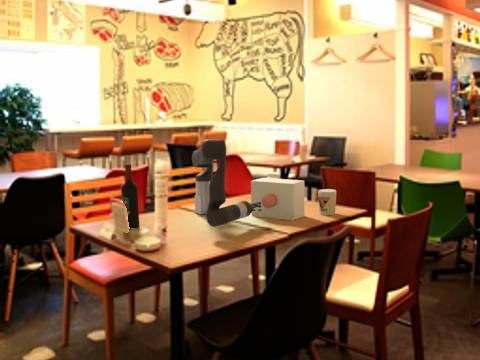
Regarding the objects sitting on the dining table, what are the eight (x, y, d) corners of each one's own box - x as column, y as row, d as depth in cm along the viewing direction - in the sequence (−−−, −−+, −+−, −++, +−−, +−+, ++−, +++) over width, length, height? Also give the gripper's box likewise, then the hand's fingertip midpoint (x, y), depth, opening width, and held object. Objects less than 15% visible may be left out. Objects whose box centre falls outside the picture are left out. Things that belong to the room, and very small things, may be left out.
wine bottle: (138, 229, 260) (135, 165, 255) (122, 229, 259) (118, 165, 255) (140, 225, 267) (137, 163, 263) (124, 226, 266) (120, 164, 262)
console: (293, 220, 270) (292, 183, 267) (251, 215, 283) (250, 180, 280) (304, 215, 280) (304, 180, 277) (263, 211, 293) (263, 177, 290)
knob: (273, 208, 270) (272, 195, 269) (261, 207, 274) (261, 194, 273) (282, 205, 278) (282, 192, 277) (271, 204, 282) (271, 191, 281)
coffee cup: (314, 213, 285) (314, 190, 283) (327, 211, 290) (327, 188, 288) (327, 216, 277) (327, 192, 276) (340, 213, 283) (340, 190, 281)
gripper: (252, 203, 247) (271, 197, 261) (227, 201, 254) (247, 195, 268) (252, 219, 248) (271, 213, 262) (227, 217, 255) (248, 210, 269)
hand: (259, 204), depth 265 cm, fingers closed
